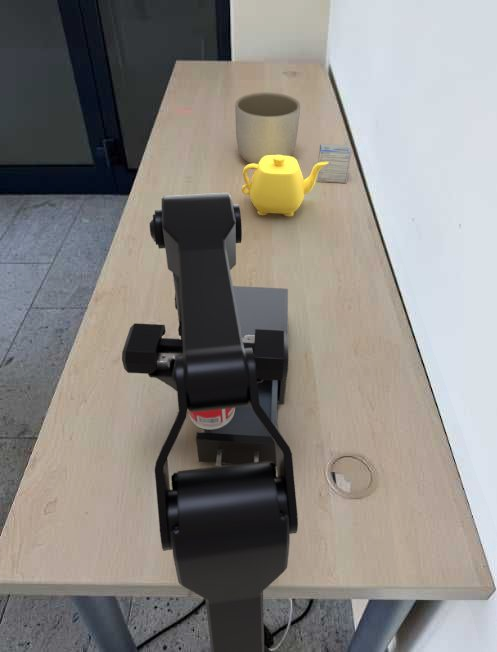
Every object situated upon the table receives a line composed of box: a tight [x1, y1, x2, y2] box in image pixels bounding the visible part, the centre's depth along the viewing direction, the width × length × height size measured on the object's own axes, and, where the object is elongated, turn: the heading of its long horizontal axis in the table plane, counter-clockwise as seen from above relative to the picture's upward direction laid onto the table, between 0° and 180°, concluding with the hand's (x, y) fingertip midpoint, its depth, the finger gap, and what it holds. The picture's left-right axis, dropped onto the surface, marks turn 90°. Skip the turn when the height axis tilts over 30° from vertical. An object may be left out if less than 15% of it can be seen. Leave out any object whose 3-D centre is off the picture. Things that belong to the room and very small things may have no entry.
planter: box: [234, 91, 301, 164], centre depth 132 cm, size 17×17×15 cm
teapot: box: [241, 155, 329, 217], centre depth 115 cm, size 14×20×13 cm
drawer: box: [195, 380, 278, 468], centre depth 72 cm, size 23×11×6 cm, turn 176°
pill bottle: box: [187, 408, 235, 430], centre depth 61 cm, size 6×6×11 cm
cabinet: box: [233, 285, 289, 405], centre depth 82 cm, size 20×13×8 cm, turn 176°
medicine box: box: [316, 143, 352, 184], centre depth 127 cm, size 8×4×9 cm, turn 85°
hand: (210, 394), depth 62 cm, fingers closed on pill bottle, 6 cm apart
